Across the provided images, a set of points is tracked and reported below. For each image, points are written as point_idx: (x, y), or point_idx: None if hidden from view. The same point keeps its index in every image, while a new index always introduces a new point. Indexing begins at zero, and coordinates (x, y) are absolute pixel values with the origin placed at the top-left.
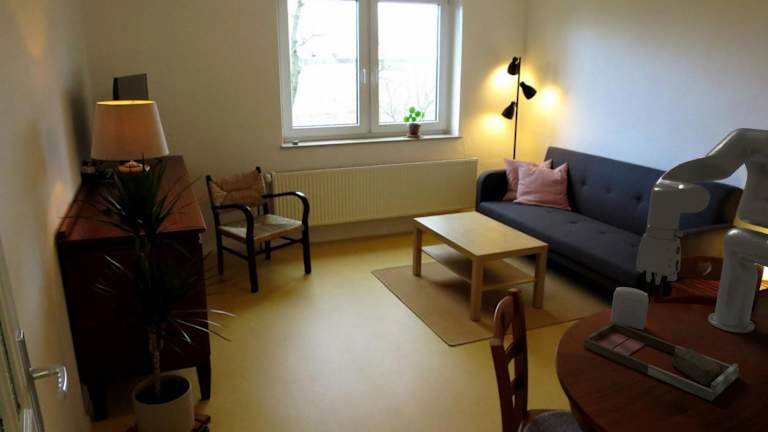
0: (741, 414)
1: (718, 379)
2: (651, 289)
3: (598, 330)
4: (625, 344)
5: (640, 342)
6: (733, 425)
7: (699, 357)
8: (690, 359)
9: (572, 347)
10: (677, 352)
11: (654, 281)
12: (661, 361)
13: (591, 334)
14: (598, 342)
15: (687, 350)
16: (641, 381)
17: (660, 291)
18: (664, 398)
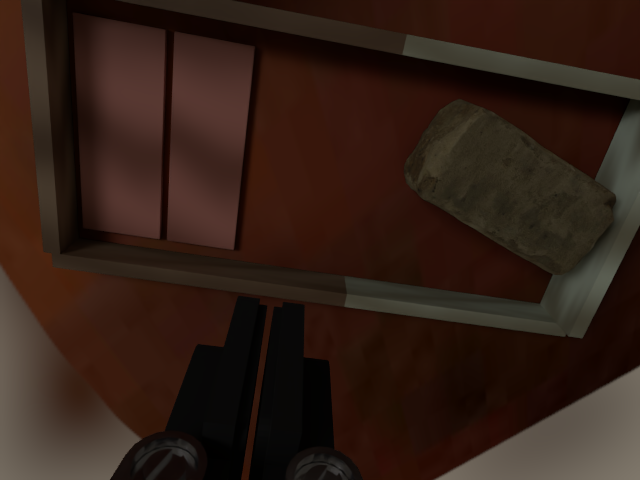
0: (628, 329)
1: (596, 293)
2: (244, 456)
3: (35, 138)
4: (186, 123)
5: (230, 49)
6: (600, 388)
7: (531, 187)
8: (495, 234)
9: (44, 278)
10: (435, 201)
11: (227, 477)
12: (360, 161)
13: (41, 203)
14: (91, 184)
15: (474, 147)
16: (338, 339)
17: (328, 371)
18: (420, 381)
